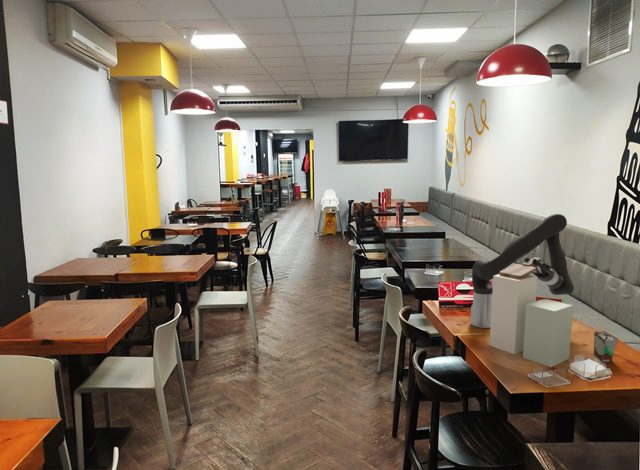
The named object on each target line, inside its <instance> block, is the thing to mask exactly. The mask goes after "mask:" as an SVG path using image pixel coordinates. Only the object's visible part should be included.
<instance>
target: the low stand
mask: <svg viewBox="0 0 640 470" xmlns="http://www.w3.org/2000/svg"><path fill="white" fill-rule="evenodd" d="M573 313H574V305H573V304H569V303H565V302H564V303H563V302H560V301H556V300H551V299H549V298H548V299H547V298H543V299H539V300H536V301H535V302H532V303H528V304H526V316H525V333H524V349H523V351H522V352H523V353H522V358H523V359H527V360H528V361H529V360H530V361H532V362H535V363H537V364H541V365H544V366H546V367H550V368H552V367H554V366H557V365H559V364H561V363H564V362H566V361H569V360H570V350H571V339H572V326H573Z"/></svg>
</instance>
